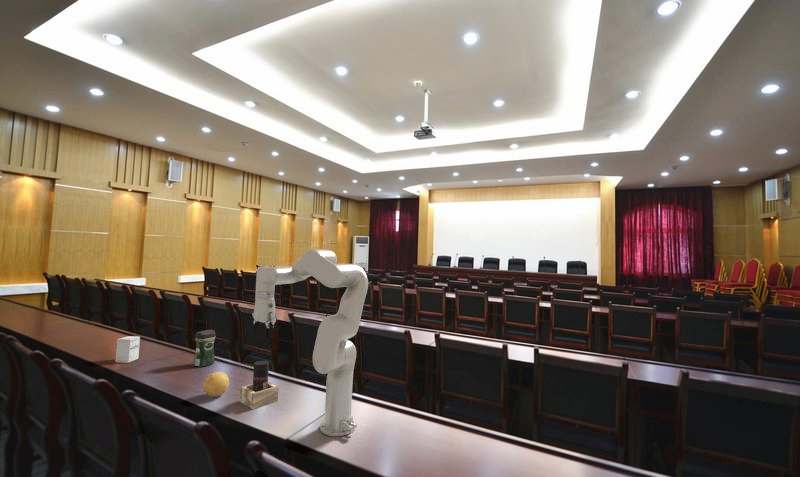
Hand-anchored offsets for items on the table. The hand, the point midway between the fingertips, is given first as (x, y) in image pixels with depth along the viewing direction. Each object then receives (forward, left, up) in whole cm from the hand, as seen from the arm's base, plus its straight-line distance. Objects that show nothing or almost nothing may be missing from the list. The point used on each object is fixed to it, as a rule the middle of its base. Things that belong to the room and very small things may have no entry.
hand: (262, 335), depth 146 cm
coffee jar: (+64, -3, -28) cm, 70 cm away
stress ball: (+18, +10, -28) cm, 35 cm away
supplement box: (+99, +23, -28) cm, 106 cm away
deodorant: (0, 0, -27) cm, 27 cm away
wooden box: (0, 0, -28) cm, 28 cm away
